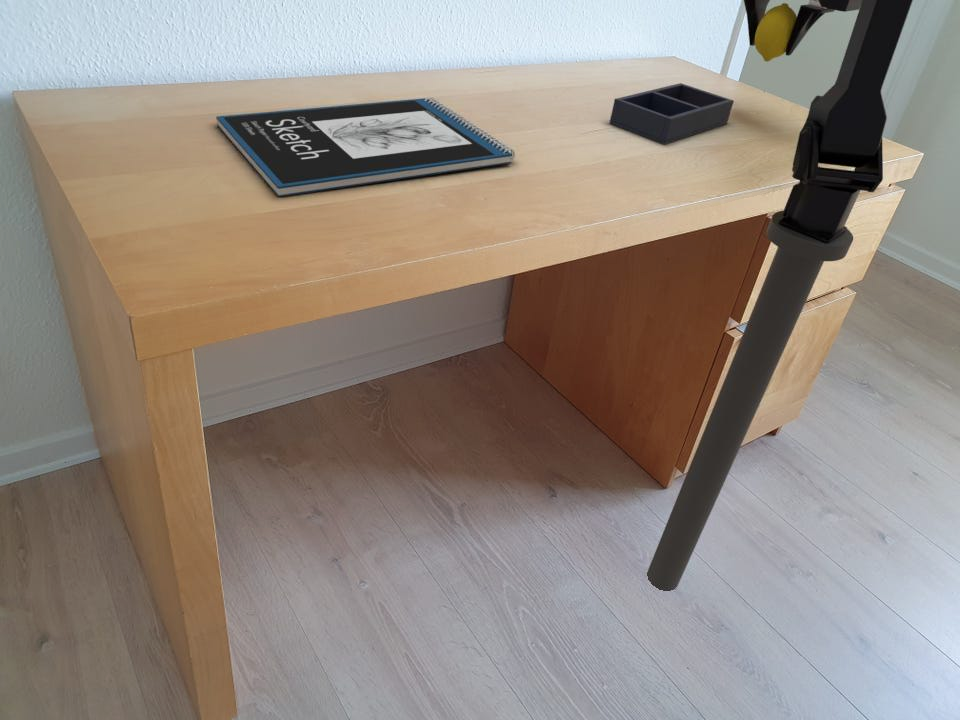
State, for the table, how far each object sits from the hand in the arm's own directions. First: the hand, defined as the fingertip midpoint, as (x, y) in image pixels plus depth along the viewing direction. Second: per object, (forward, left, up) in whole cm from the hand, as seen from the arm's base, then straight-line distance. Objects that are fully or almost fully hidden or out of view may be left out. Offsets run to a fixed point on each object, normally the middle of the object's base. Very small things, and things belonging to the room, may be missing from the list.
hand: (770, 50), depth 106 cm
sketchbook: (+22, +58, -11) cm, 63 cm away
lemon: (0, 0, -2) cm, 2 cm away
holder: (+7, +12, -11) cm, 18 cm away
